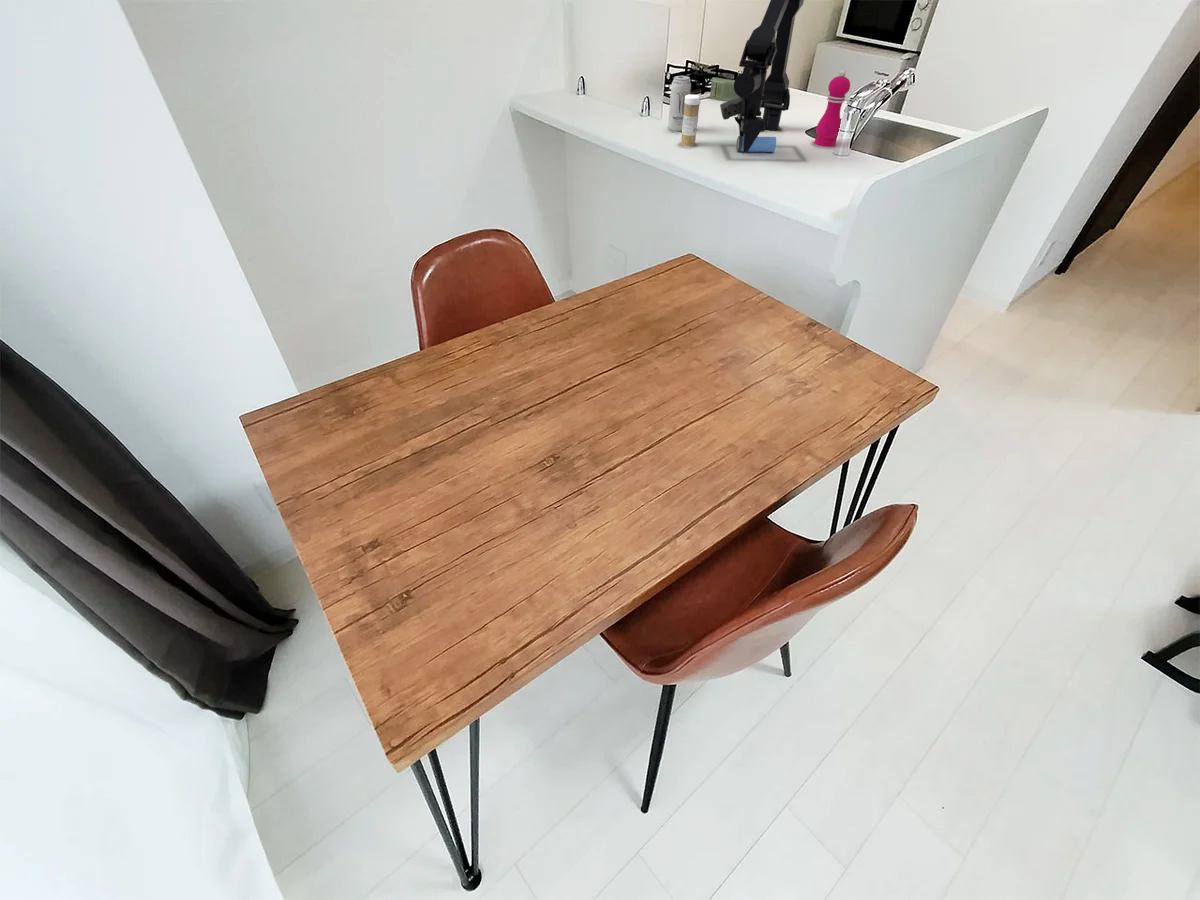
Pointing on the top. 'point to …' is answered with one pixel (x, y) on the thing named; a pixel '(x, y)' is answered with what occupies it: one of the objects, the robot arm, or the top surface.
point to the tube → (758, 144)
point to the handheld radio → (723, 89)
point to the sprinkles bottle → (690, 119)
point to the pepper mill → (832, 111)
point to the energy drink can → (678, 102)
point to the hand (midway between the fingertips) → (743, 148)
